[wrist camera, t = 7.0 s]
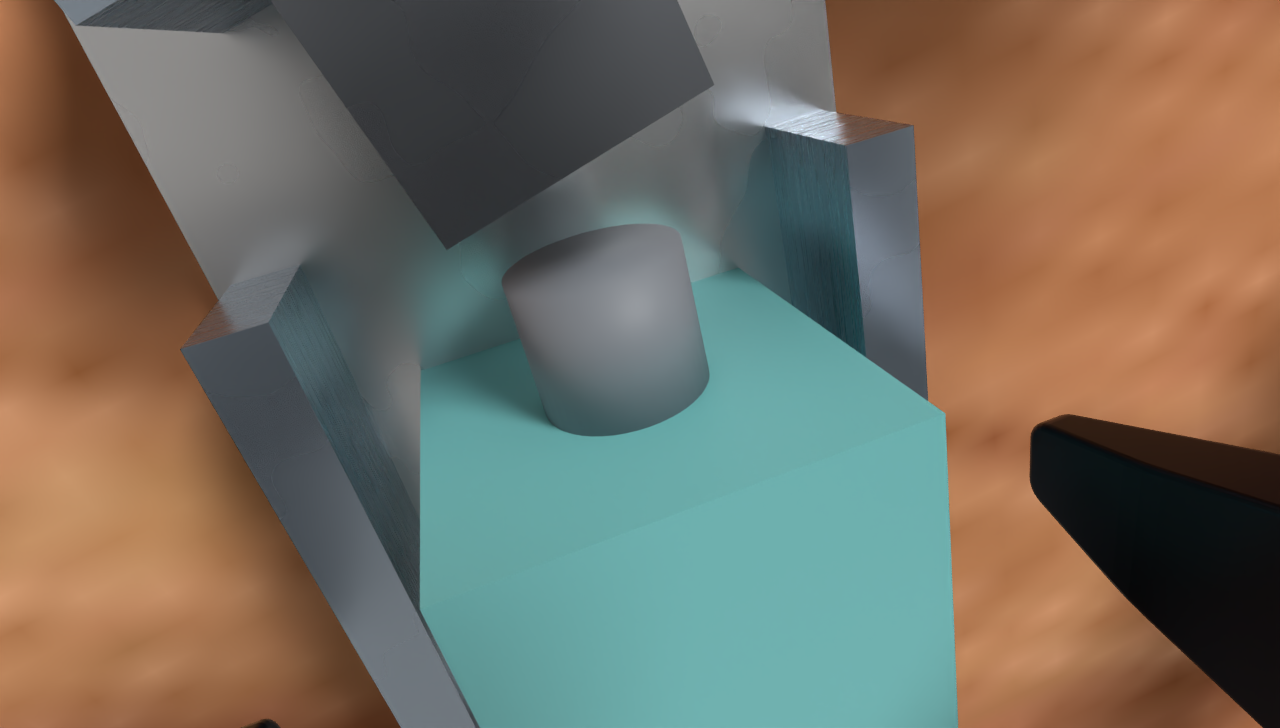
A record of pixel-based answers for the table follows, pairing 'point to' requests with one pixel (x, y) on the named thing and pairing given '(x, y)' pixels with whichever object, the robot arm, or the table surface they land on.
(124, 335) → the table surface
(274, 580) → the table surface
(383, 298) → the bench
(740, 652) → the coupler
